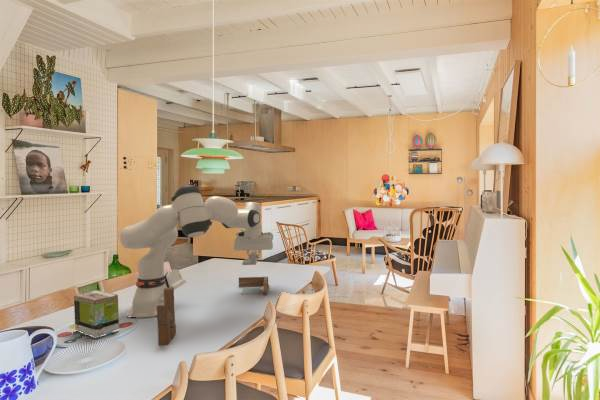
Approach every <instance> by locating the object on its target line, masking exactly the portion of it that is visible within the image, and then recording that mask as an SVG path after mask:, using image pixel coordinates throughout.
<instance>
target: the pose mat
mask: <svg viewBox="0 0 600 400" xmlns="http://www.w3.org/2000/svg"><path fill="white" fill-rule="evenodd" d="M260 287H261V286H260ZM260 287H242V289H241V295H251V294H259V293H260V289H261V288H260Z"/></svg>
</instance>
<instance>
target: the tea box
mask: <svg viewBox="0 0 600 400" xmlns="http://www.w3.org/2000/svg"><path fill="white" fill-rule="evenodd" d="M73 303H74V304H73V306H74V328H75V330H78V331H81V332H83V333H86V334H89V335H92V336H94V337H97V336H101V335H104V334H107V333H110V332H112V331H114V330H117V329H119V330H120V322H119V321H120V319H119V318H120V317H119V316H120V315H119V294H117V293H113V292H109V291H102V290H98V289H97V290H93V291H88V292H84V293H79V294H75V295H73ZM75 330H74V331H75Z"/></svg>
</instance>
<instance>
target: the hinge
mask: <svg viewBox="0 0 600 400" xmlns="http://www.w3.org/2000/svg"><path fill="white" fill-rule="evenodd" d="M164 276H165V286H166V287H167V288H169V287H172V288H174V291H175V290H176V289H178V288H180V286H183V285H184V284H186V279H184V278H183V276H182V274H181V272H180V270H179V269H171V270H169V271H167V272H164Z"/></svg>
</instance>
